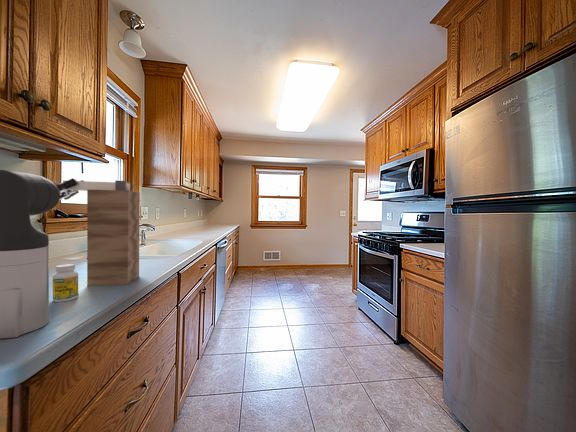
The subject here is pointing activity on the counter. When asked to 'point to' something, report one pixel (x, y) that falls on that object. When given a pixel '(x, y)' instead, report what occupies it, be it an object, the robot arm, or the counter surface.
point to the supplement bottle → (65, 283)
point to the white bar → (102, 186)
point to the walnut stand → (112, 237)
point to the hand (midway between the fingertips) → (80, 182)
